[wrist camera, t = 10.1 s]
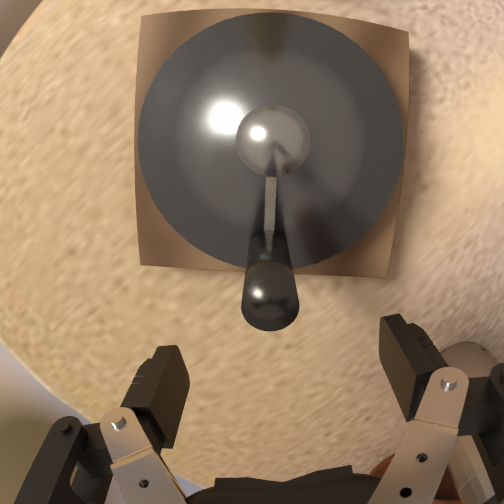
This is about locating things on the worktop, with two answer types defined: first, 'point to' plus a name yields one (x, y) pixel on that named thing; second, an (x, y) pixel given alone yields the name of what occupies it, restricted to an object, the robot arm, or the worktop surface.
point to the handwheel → (270, 149)
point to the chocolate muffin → (446, 495)
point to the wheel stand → (178, 32)
